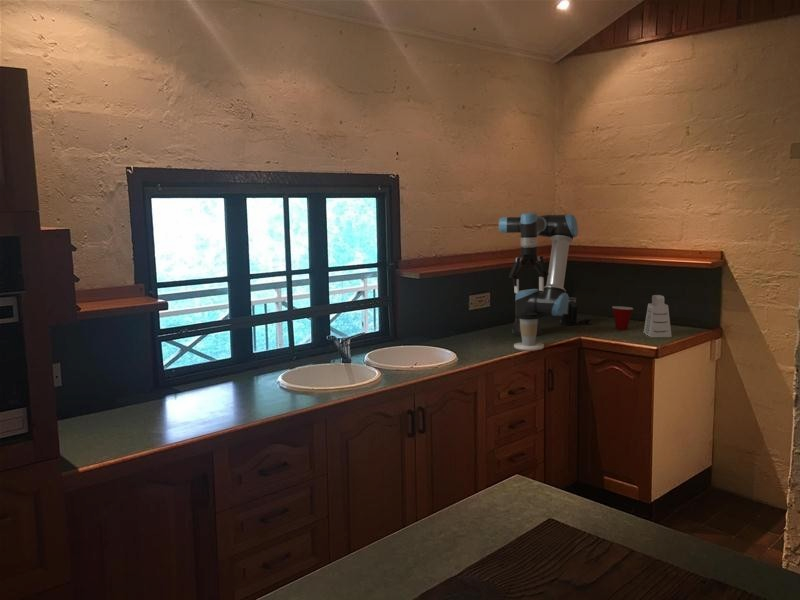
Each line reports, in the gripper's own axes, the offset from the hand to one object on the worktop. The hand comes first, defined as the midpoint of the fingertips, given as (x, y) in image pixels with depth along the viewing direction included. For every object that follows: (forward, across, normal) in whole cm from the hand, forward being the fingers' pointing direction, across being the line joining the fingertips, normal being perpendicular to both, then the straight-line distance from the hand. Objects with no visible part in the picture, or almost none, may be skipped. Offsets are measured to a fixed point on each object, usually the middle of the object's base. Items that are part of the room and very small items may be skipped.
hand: (529, 291), depth 322 cm
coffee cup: (+26, 0, 0) cm, 26 cm away
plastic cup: (+27, +68, +16) cm, 75 cm away
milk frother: (+27, +57, +41) cm, 75 cm away
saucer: (+26, 0, 0) cm, 27 cm away
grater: (+27, +72, -6) cm, 77 cm away
